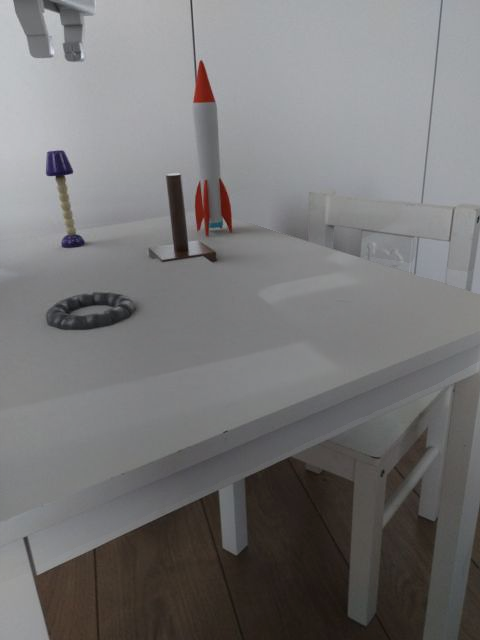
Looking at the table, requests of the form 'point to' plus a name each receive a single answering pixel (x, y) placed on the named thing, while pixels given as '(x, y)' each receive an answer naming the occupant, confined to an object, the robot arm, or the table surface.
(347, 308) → the table surface
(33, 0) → the robot arm
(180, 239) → the stand
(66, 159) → the toy lamp
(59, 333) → the table surface
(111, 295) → the ring
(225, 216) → the toy rocket
